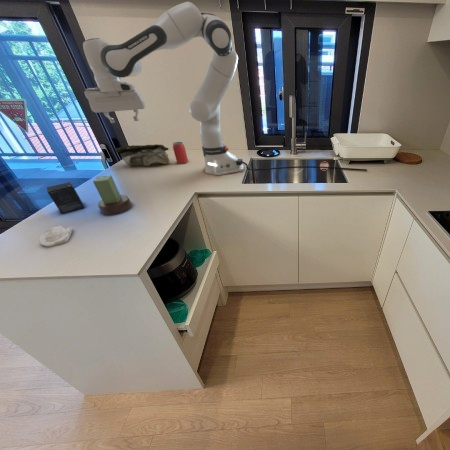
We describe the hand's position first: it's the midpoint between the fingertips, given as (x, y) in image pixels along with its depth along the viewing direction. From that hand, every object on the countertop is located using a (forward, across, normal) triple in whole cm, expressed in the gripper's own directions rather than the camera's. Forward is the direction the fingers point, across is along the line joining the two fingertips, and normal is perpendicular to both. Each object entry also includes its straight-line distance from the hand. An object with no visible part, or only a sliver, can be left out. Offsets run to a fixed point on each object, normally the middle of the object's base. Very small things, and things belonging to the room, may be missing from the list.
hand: (125, 121), depth 109 cm
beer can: (+29, +15, +30) cm, 45 cm away
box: (+30, -28, -18) cm, 45 cm away
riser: (+31, -10, -24) cm, 40 cm away
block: (+27, -10, -24) cm, 37 cm away
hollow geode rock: (+28, -6, +34) cm, 44 cm away
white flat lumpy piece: (+32, -24, -41) cm, 57 cm away
